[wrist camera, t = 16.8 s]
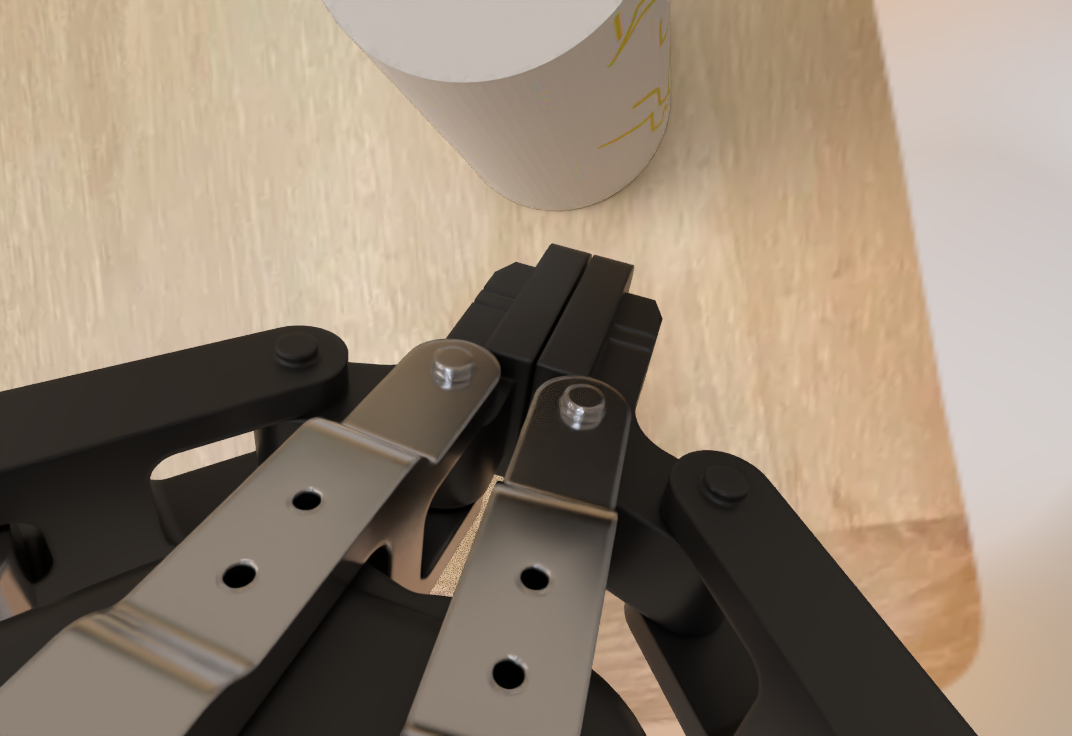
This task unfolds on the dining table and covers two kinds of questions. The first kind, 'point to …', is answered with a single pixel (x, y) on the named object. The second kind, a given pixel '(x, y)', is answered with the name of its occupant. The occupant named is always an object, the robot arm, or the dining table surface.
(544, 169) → the beige solid cylinder
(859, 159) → the dining table surface
